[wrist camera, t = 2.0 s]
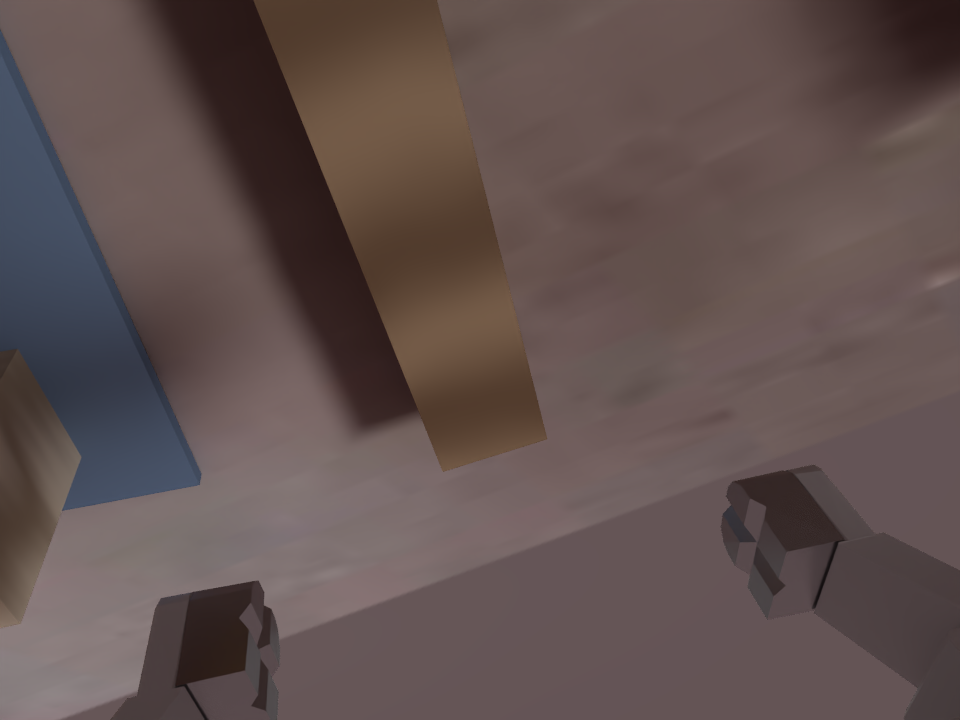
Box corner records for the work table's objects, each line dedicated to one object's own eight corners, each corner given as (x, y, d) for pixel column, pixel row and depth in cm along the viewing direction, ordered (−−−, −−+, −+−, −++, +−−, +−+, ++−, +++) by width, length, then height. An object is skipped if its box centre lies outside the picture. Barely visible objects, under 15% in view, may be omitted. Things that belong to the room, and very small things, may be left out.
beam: (232, -106, 18) (215, -94, 15) (383, -153, 18) (399, -150, 15) (428, 402, 29) (442, 471, 26) (521, 373, 29) (547, 439, 26)
